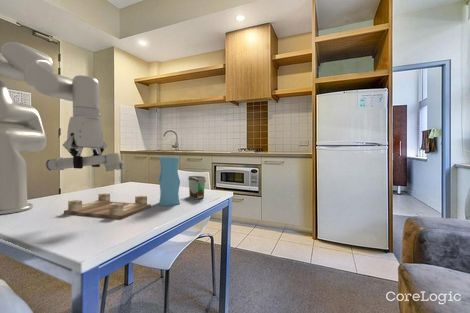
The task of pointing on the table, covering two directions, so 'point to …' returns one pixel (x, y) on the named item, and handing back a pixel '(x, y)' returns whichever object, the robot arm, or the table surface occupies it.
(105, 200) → the v block cradle
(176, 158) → the vase
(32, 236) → the table surface
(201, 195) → the food container
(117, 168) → the white electric toothbrush
